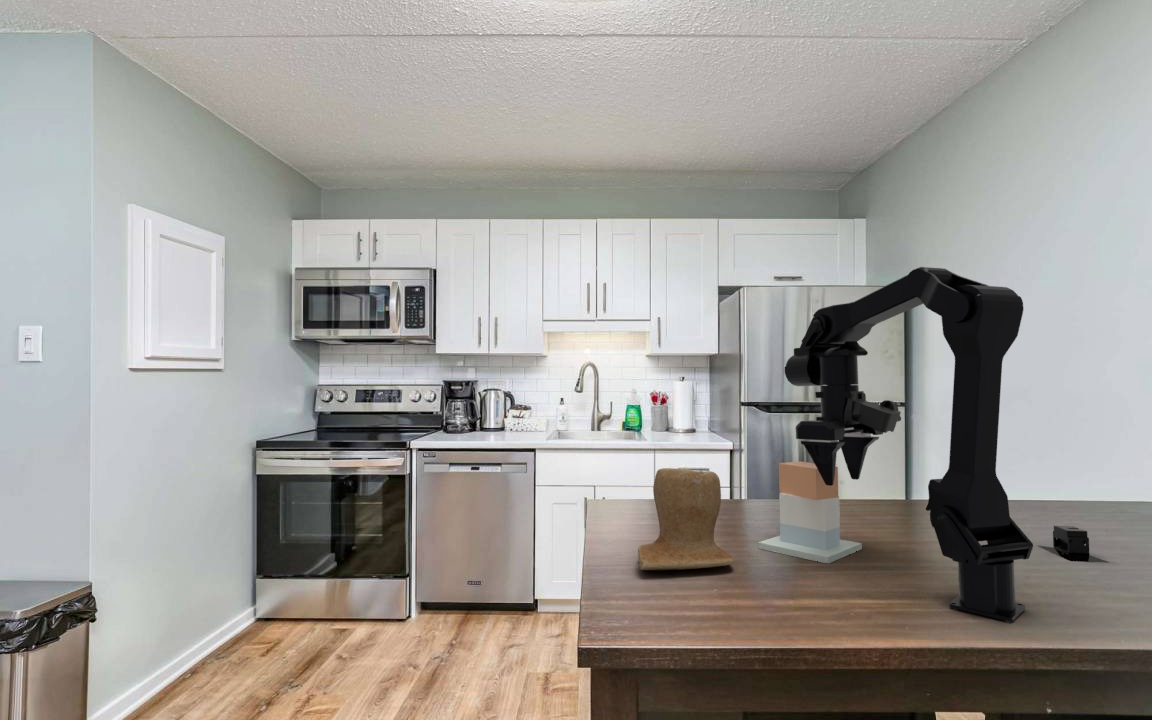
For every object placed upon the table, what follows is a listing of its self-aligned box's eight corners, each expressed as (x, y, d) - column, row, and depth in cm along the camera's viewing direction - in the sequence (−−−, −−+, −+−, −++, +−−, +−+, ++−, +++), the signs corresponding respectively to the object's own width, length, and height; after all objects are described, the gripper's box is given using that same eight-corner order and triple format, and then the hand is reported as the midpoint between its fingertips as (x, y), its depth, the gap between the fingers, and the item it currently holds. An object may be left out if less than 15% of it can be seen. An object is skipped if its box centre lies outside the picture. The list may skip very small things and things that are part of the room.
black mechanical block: (1123, 569, 91) (1121, 538, 91) (1069, 567, 93) (1067, 536, 93) (1071, 547, 103) (1070, 520, 104) (1024, 546, 105) (1023, 519, 105)
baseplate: (827, 563, 93) (827, 537, 93) (758, 548, 102) (757, 524, 102) (861, 549, 101) (861, 525, 101) (794, 536, 110) (794, 514, 110)
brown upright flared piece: (713, 552, 100) (711, 461, 101) (743, 574, 88) (741, 471, 89) (623, 557, 98) (622, 463, 99) (642, 580, 86) (640, 474, 87)
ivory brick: (825, 531, 97) (824, 500, 97) (779, 523, 103) (779, 493, 103) (839, 526, 101) (839, 496, 101) (794, 518, 106) (794, 490, 107)
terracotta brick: (816, 500, 97) (815, 468, 98) (779, 492, 105) (778, 463, 105) (838, 497, 100) (837, 466, 100) (800, 489, 107) (800, 461, 107)
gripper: (865, 384, 86) (869, 494, 85) (914, 384, 99) (918, 481, 98) (792, 385, 95) (795, 486, 94) (845, 385, 107) (849, 474, 106)
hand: (842, 482), depth 98 cm, fingers open, 9 cm apart
